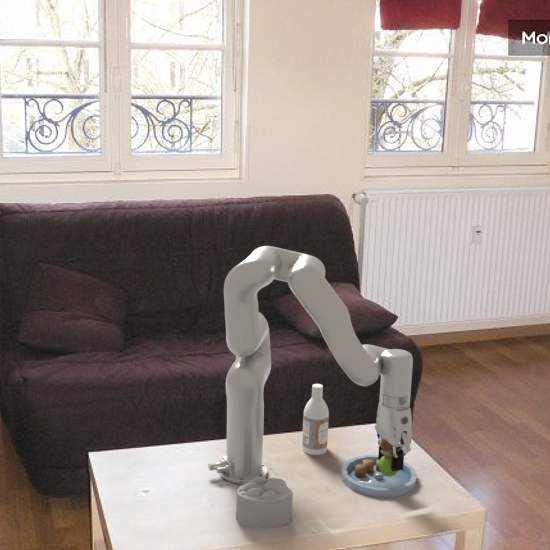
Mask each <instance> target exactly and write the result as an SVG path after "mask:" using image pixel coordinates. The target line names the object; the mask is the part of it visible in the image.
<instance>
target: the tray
mask: <svg viewBox="0 0 550 550" xmlns="http://www.w3.org/2000/svg"><path fill="white" fill-rule="evenodd" d="M365 459H370V460H373V461H374V471H373V472H372V473H366V477H365V478H358V477H356V476H355V466H356V465H357V464H363V460H365ZM377 459H378V454H365V455H359V456H355V457H352V458H351V459H348V460H347V461H345V462H344V464H343V465H342V467H341V473H340V474H341V478H342V482H343V483H344V484H345V485H346V486H347V487H348V488H349V489H351V490H352V491H355V492H357V493H360V494H363V495H367V496H371V497H376V498H377V497H378V498H390V497H391V498H394V497H398V496H403V495H406V494H408V493H410V492H411V491H413V490H414V489H415V487H416V485H417V480H418V475H417V473H416V470H415V468H414V467H413V466H411V465H410V464H409V463H408V462H406V461H404V462H403V469H402V470H399V471H398V472H397V473H396V474H395V475H393V476H386V475H384V474H383V473H382V472H378V471H376V460H377Z"/></svg>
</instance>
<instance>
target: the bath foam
mask: <svg viewBox="0 0 550 550" xmlns="http://www.w3.org/2000/svg"><path fill="white" fill-rule="evenodd" d="M311 385H312V386H311V398H310V399H309V400H308V401H307V403H306V405H305V407H304V409H303V418H302V419H303V420H302V440H301V441H302V443H301V445H302V446H301V450H302V452H304V453H305V454H307V455H310V456H311V455H312V456H320V455H321V456H322V455H324V454H325V453H327V451H328V436H329V435H328V434H329V418H330V411H329V407H328V405H327V403H326V401H325V400H324V398H323V395H324V394H323V391H324V385H323V384H321V383H313V384H311Z"/></svg>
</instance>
